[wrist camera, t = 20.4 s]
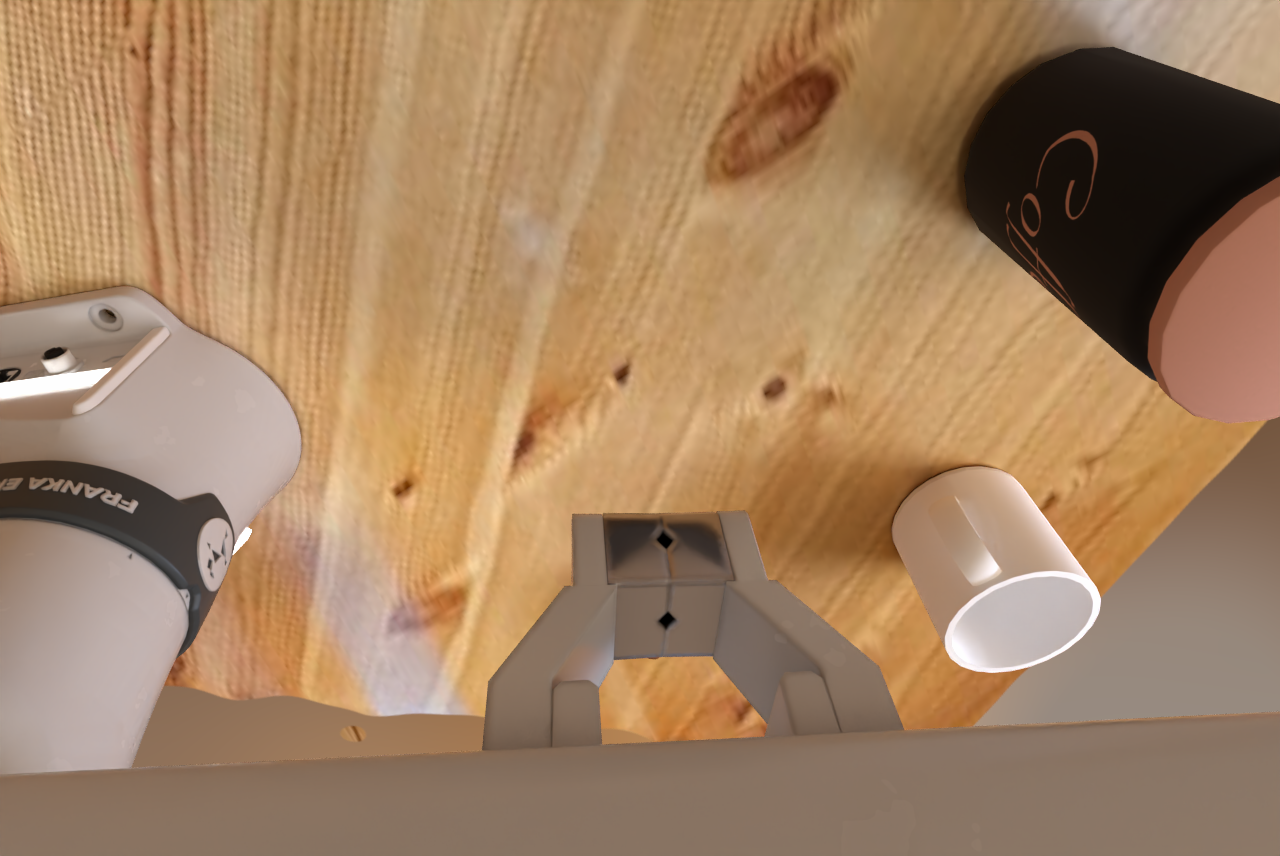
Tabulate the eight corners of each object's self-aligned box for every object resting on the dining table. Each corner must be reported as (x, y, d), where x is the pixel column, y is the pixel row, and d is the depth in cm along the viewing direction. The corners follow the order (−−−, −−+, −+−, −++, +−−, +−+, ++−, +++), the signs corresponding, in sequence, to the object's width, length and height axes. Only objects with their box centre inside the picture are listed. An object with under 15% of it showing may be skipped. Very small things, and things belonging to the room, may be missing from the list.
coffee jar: (960, 68, 39) (1198, 192, 24) (1174, 19, 38) (1545, 117, 24) (949, 260, 45) (1133, 449, 31) (1132, 221, 45) (1406, 393, 30)
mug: (1042, 518, 59) (1120, 625, 51) (925, 580, 62) (980, 691, 54) (977, 418, 53) (1055, 523, 44) (850, 493, 56) (900, 604, 48)
